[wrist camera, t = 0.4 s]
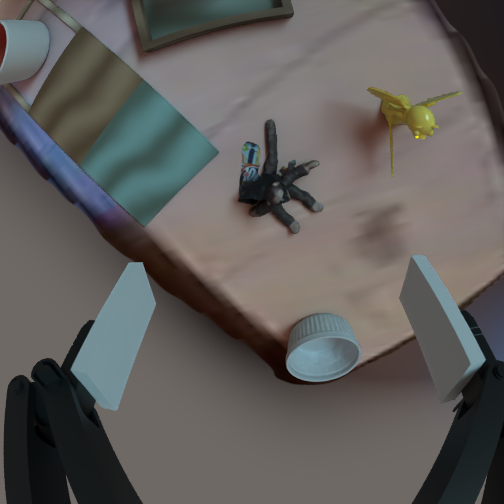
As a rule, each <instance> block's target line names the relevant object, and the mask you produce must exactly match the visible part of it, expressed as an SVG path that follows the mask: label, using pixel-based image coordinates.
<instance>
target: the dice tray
mask: <svg viewBox="0 0 504 504" xmlns="http://www.w3.org/2000/svg"><path fill="white" fill-rule="evenodd" d="M131 2H132V7H133V11H134V16H135V20H136V24H137V29H138V33H139V37H140V41H141V45H142V49H143V51H144V52H151V51H154V50H157V49H159V48H162V47H165V46H168V45H171V44H174V43H177V42H180V41H183V40H186V39H189V38H192V37H196V36H199V35H203V34H206V33H210V32H214V31H218V30H222V29H226V28H230V27H234V26H239V25H244V24H249V23H254V22H260V21H265V20H272V19H278V18H286V17H293V15H294V11H293V7H292V4H291V0H131Z"/></svg>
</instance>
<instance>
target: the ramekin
mask: <svg viewBox="0 0 504 504" xmlns="http://www.w3.org/2000/svg"><path fill="white" fill-rule="evenodd" d="M360 357H361V349H360V344H359V342H358V341H357V339H356V338H355V335H354V333H353V331H352V329H351V327H350V325H349V324H348V322H346V320H344V319H343V318H341V317H339V316H337V315H334V314H328V313H321V314H315V315H311V316H309V317H306V318H304V319H303V320H301V321H300V322H299V323H298V324H296V325H295V326H294V328H293V329H292V331H291V333H290V336H289V342H288V351H287V354H286V367H287V369H288V371H289V372H290V373H291V374H292V375H293V376H295V377H297V378H299V379H302V380H306V381H327V380H331V379H335V378H338V377H340V376H342V375H345V374H346V373H348V372H349V371H351V370H352V369H353V368H354V367H355V366H356V365H357V363H358V362H359V360H360Z"/></svg>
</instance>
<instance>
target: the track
mask: <svg viewBox="0 0 504 504" xmlns="http://www.w3.org/2000/svg"><path fill="white" fill-rule="evenodd" d="M33 1H34V0H28V2H27V3H26V5H25V6H24V8H23V9H22V11H21V12H20V14H19V16H18V17H17V19H16V20H21V19H22V18H23V16H24V14H25V13H26V11H27V10H28V8H29V7H30V5H31V4H32V2H33ZM38 1H40V2H41V3H42V4H43V5H45V6H46V7H47V8H48V9H50V10H51V11H52V12H53V13H55V14H56V15H57V16H58V17H59V18H61V19H62V20H63V21H64V22H65V23H67V24H68V25H69V26H70V27H71V28H73V29H74V30H75V31H76V32H77V33H76V35H75V36H74V37H73V39H72V40H71V42H70V43H69V44H68V46H67V47H66V49H65V50H64V52H63V53H62V55H61V56H60V58H59V59H58V61H57V62H56V64H55V65H54V67H53V69H52V70H51V72H50V73H49V75H48V77H47V78H46V80H45V82H44V84H43V85H42V87H41V89H40V91H39V92H38V94H37V96H36V98H35V100H34V102H33V104H32V106H30V105H29V104H28V103H27V101H26V100H25V99H24V98H23V97H22V96H21V95H20V94H19V93H18V92H17V91H16V90H15V88H14V87H13V86H12V85H11V84H10V83H8V84H3V86H4V87H5V88H6V89H7V90H8V91H9V92H10V94H11V95H12V96H13V97H14V98H15V99H16V100H17V101H18V103H19V104H20V105H21V106H22V107H23V108H24V109H25V110H26V111H27V112H28V113H29V115H30V116H31V117H32V118H33V119H34V120H35V121H36V122H37V123H38V124H39V125H40V126H41V127H42V128H43V129H44V130H45V131H46V133H47V134H48V135H49V136H50V137H51V138H52V139H53V140H54V141H55V142H56V143H57V144H58V145H59V146H60V147H61V148H62V149H63V150H64V151H65V152H66V153H67V154H68V155H69V156H70V157H71V158H72V159H73V160H74V161H75V162H76V163H77V164H78V165H79V166H80V167H81V168H82V169H83V170H84V171H85V172H86V173H87V174H88V175H89V176H90V177H91V178H92V179H93V180H94V181H95V182H96V183H98V184H99V185H100V186H101V187H102V188H103V189H104V190H105V191H106V192H107V193H108V194H109V195H110V196H111V197H112V198H113V199H114V200H115V201H117V202H118V203H119V204H120V205H121V206H122V207H123V208H124V209H125V210H126V211H127V212H128V213H129V214H131V215H132V216H133V217H134V218H135V219H136V220H137V221H138V222H139V223H140V224H141V225H143V226H144V227H145V226H146V224H147V223H148V222H149V221H150V220H151V219H152V218H153V217H154V216H155V215H156V214H157V213H158V212H159V211H160V210H161V209H162V208H163V207H164V206H165V204H166V203H167V202H168V201H169V200H170V199H171V198H172V197H173V196H174V195H175V194H176V193H177V192H178V191H179V190H180V189H181V188H182V187H183V186H184V185H185V184H186V183H187V182H188V181H189V180H190V179H191V178H192V177H193V176H195V175H196V174H197V173H198V172H199V171H200V170H201V169H202V168H203V167H204V166H205V165H206V164H207V163H208V162H209V161H210V160H211V159H212V158H213V157H215V156H216V155H217V154H218V153H219V151H218V150H217V149H216V148H215V147H214V146H213V145H212V144H211V143H210V142H209V141H208V140H207V139H206V138H205V137H204V136H203V135H202V134H200V133H199V132H198V131H197V130H196V129H195V128H194V127H193V126H192V125H191V124H190V123H189V122H188V121H187V120H186V119H185V118H184V117H183V116H182V115H181V114H180V113H179V112H178V111H177V110H176V109H175V108H173V107H172V106H171V105H170V104H169V103H168V102H167V101H166V100H165V99H164V98H163V97H162V96H161V95H160V94H159V93H157V92H156V91H155V90H154V89H153V88H152V87H151V86H150V85H149V84H148V83H147V82H146V81H144V80H143V79H142V78H141V77H140V76H139V75H138V74H137V73H136V72H135V71H133V70H132V69H131V68H130V67H129V66H128V65H127V64H126V63H124V62H123V61H122V60H121V59H120V58H119V57H118V56H116V55H115V54H114V53H113V52H112V51H111V50H110V49H108V48H107V47H106V46H105V45H104V44H103V43H101V42H100V41H99V40H98V39H97V38H96V37H94V36H93V35H92V34H91V33H90V32H88V31H87V30H86V29H85V28H84V27H82V26H81V25H80V24H79V23H78V22H76V21H75V20H74V19H73V18H71V17H70V16H69V15H68V14H66V13H65V12H64V11H63V10H61V9H60V8H59V7H58V6H56V5H55V4H54V3H53V2H51V1H50V0H38Z"/></svg>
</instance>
